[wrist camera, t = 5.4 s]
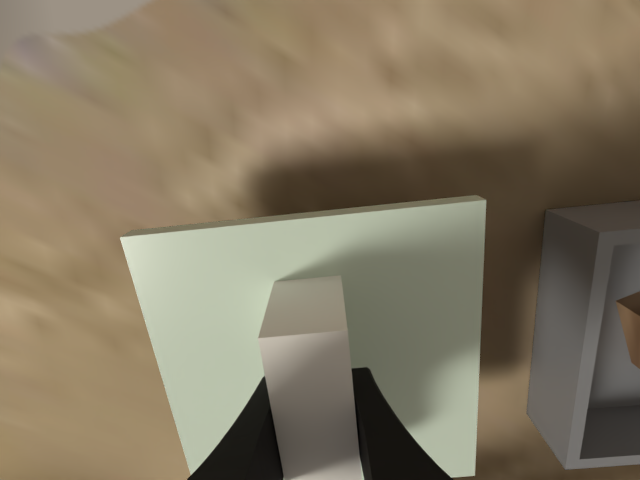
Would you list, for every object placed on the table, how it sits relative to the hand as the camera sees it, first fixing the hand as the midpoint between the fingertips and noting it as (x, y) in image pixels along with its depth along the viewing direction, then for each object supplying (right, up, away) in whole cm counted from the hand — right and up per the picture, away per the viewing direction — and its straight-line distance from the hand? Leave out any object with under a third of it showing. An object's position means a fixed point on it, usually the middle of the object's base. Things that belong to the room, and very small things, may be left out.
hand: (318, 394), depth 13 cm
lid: (0, +1, +2) cm, 2 cm away
